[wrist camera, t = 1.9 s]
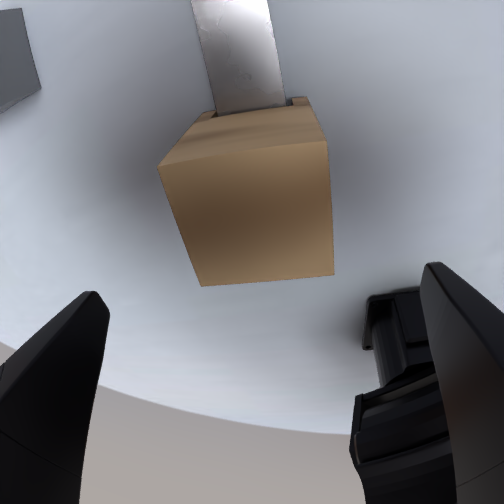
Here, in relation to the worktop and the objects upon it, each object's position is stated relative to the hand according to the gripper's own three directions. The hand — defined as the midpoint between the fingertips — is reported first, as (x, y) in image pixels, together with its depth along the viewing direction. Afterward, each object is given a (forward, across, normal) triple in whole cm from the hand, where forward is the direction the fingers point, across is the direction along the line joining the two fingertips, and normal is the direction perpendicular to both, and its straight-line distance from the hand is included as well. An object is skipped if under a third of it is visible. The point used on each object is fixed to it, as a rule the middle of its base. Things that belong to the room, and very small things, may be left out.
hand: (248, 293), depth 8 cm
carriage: (+10, 0, 0) cm, 10 cm away
